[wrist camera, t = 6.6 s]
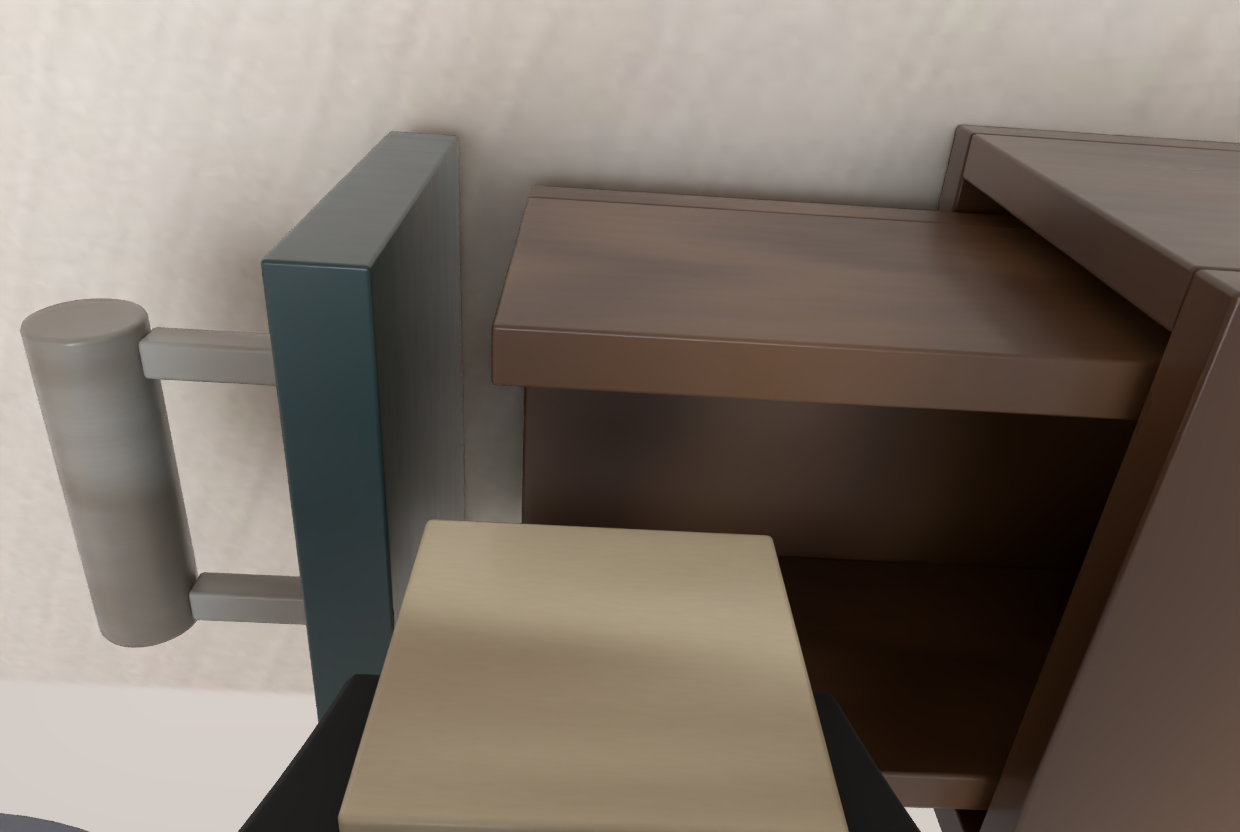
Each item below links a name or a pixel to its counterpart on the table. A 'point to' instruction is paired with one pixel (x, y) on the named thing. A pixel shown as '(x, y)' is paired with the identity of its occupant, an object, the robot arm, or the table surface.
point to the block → (592, 689)
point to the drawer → (650, 428)
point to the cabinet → (1136, 494)
